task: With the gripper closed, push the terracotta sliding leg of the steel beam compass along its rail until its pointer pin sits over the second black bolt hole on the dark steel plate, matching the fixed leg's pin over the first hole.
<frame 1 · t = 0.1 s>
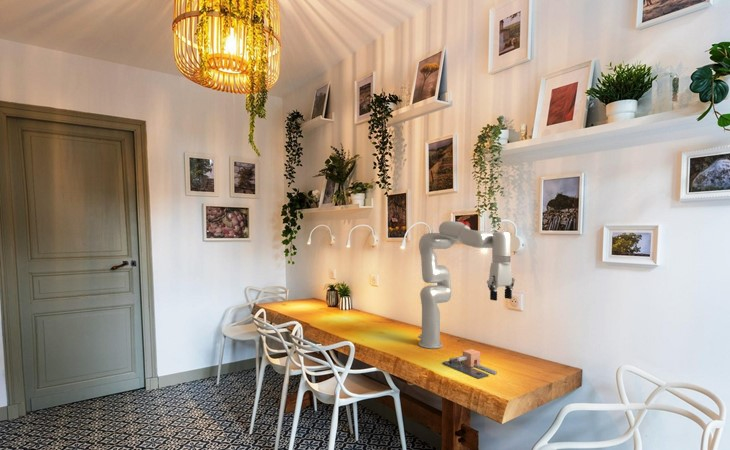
hand: (501, 299, 165), 31 cm above the table, fingers open, 9 cm apart
sliding leg: (467, 358, 170), point 3 cm above the table, slide at 0.0 cm
beam: (476, 366, 169), on the table
bolt plate: (464, 369, 165), on the table
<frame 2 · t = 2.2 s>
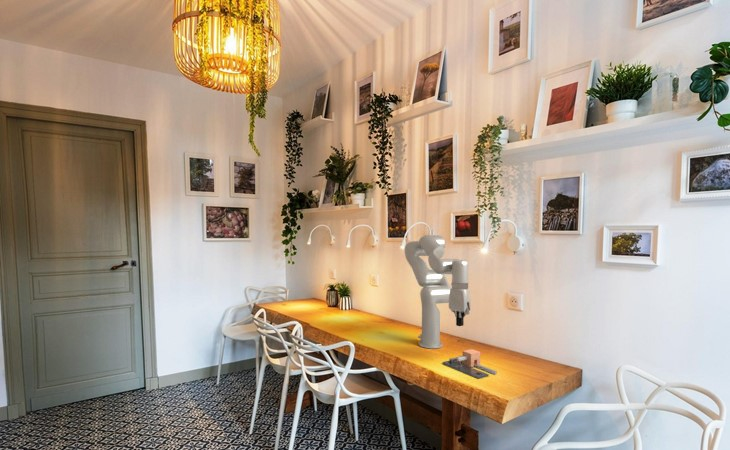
hand: (459, 325, 178), 16 cm above the table, fingers closed
nothing on the table moved.
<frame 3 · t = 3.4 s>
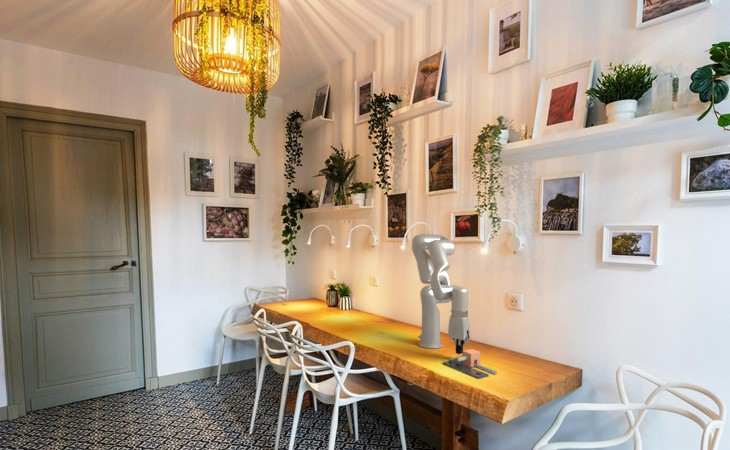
hand: (459, 353, 178), 3 cm above the table, fingers closed
nothing on the table moved.
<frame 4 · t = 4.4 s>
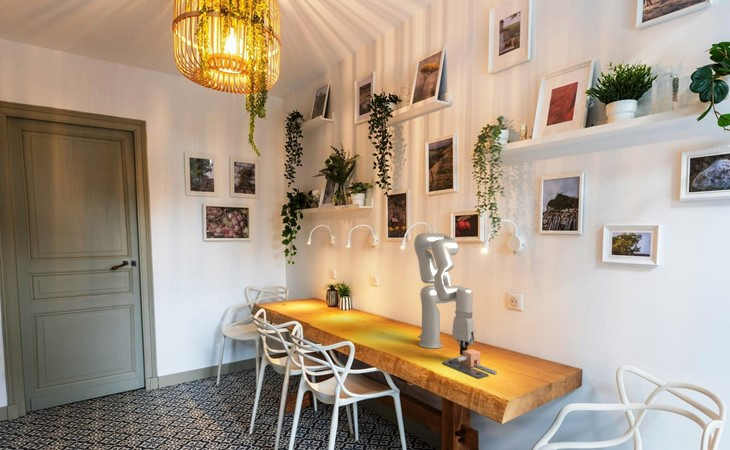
hand: (463, 354, 175), 3 cm above the table, fingers closed
sliding leg: (467, 358, 170), point 3 cm above the table, slide at 0.0 cm, touching gripper
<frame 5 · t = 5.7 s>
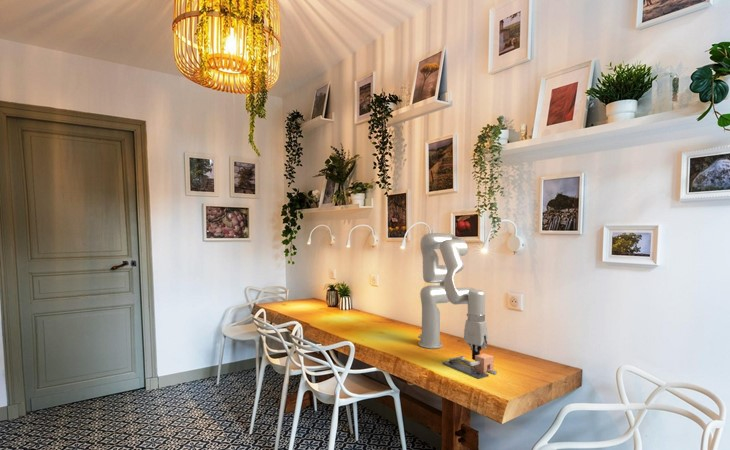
hand: (475, 359, 169), 3 cm above the table, fingers closed
sliding leg: (479, 363, 164), point 3 cm above the table, slide at 7.3 cm, touching gripper
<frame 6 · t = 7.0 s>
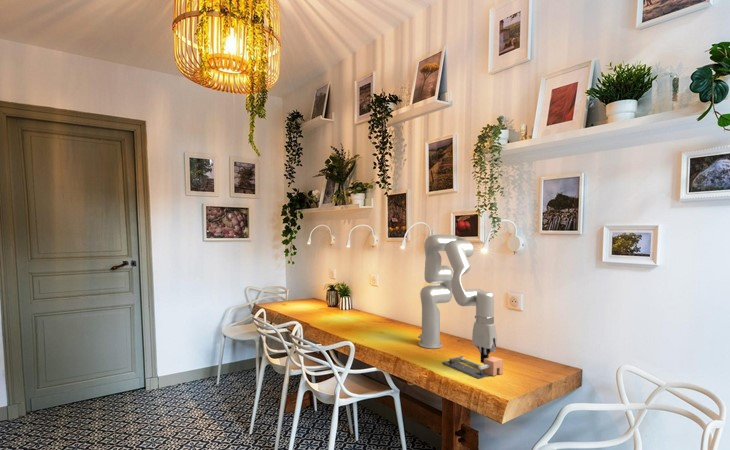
hand: (484, 362, 165), 3 cm above the table, fingers closed
sliding leg: (488, 367, 160), point 3 cm above the table, slide at 12.2 cm, touching gripper
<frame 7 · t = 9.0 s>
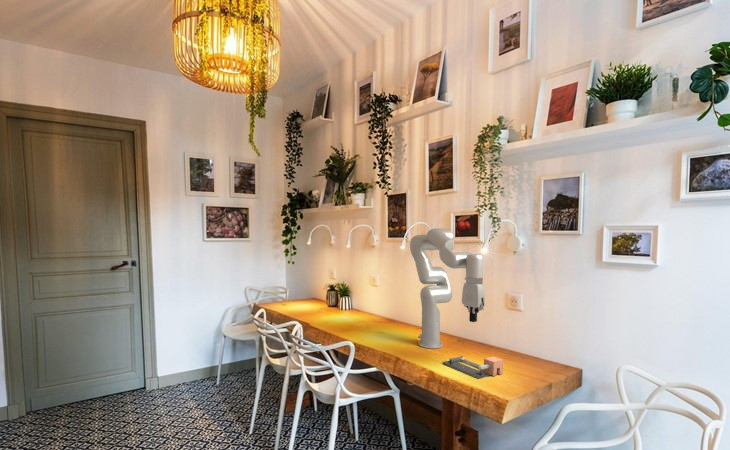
hand: (473, 321, 172), 19 cm above the table, fingers closed
sliding leg: (489, 367, 160), point 3 cm above the table, slide at 12.2 cm
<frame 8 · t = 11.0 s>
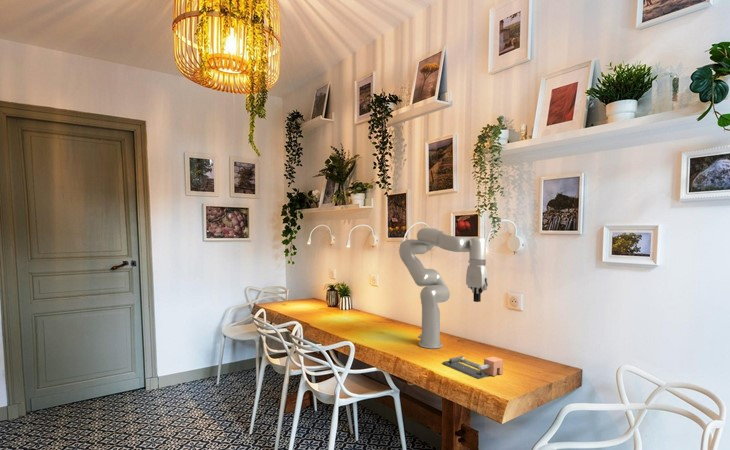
hand: (477, 301, 181), 27 cm above the table, fingers closed
nothing on the table moved.
at the end: sliding leg slide at 12.2 cm; sliding leg touching nothing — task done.
